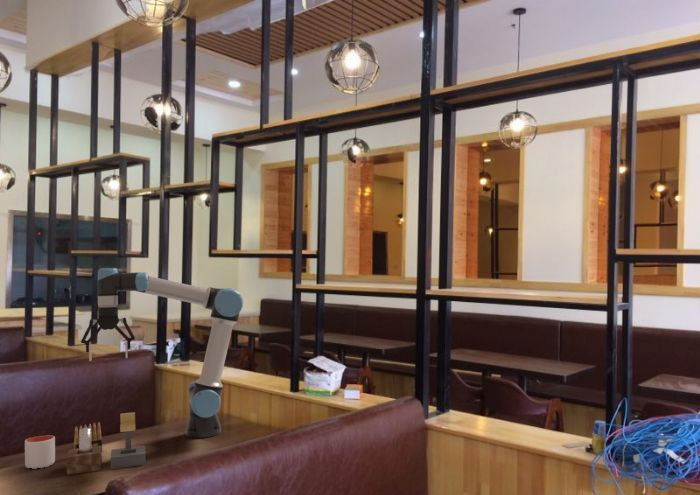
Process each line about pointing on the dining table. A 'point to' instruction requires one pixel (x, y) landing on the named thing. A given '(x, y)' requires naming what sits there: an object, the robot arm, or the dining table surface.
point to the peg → (84, 440)
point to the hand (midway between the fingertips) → (108, 359)
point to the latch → (127, 422)
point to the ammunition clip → (95, 436)
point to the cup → (39, 451)
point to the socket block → (128, 455)
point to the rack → (84, 460)
